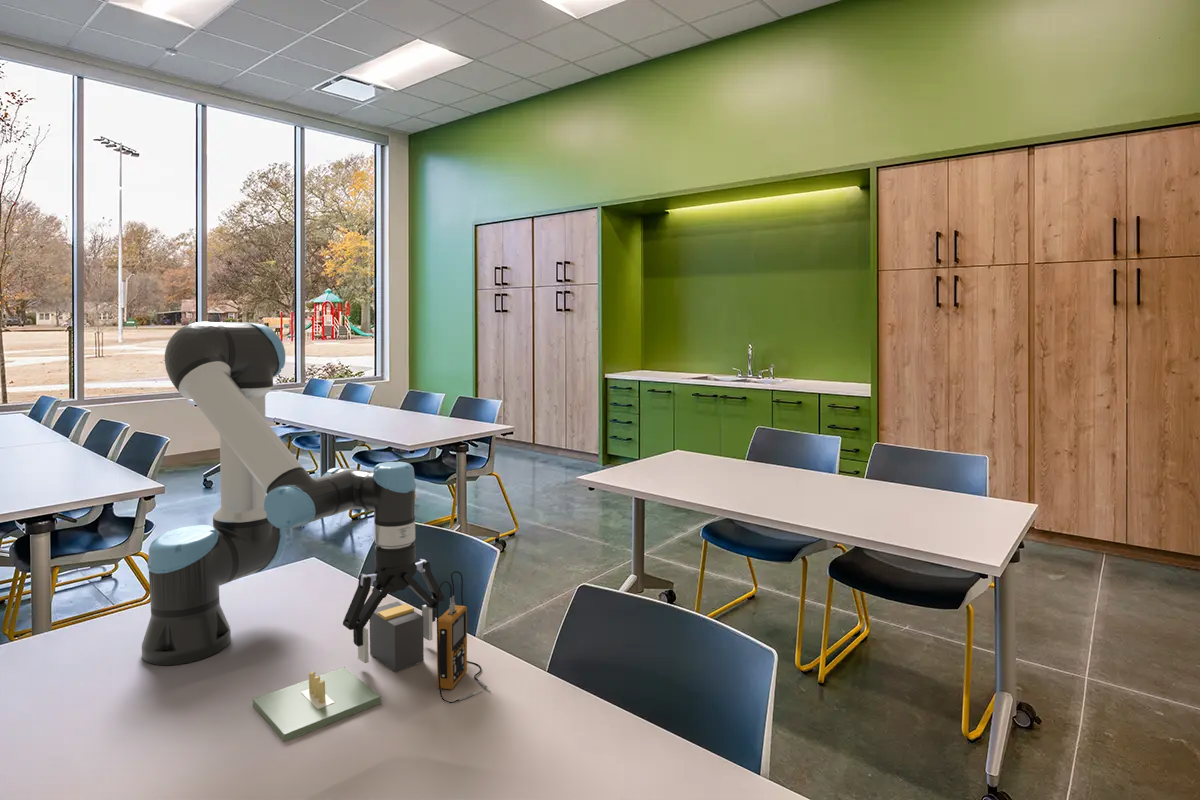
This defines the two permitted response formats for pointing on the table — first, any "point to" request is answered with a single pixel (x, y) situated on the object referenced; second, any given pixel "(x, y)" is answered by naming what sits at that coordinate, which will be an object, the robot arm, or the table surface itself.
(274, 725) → the board
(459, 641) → the multimeter
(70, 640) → the table surface
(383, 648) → the block
